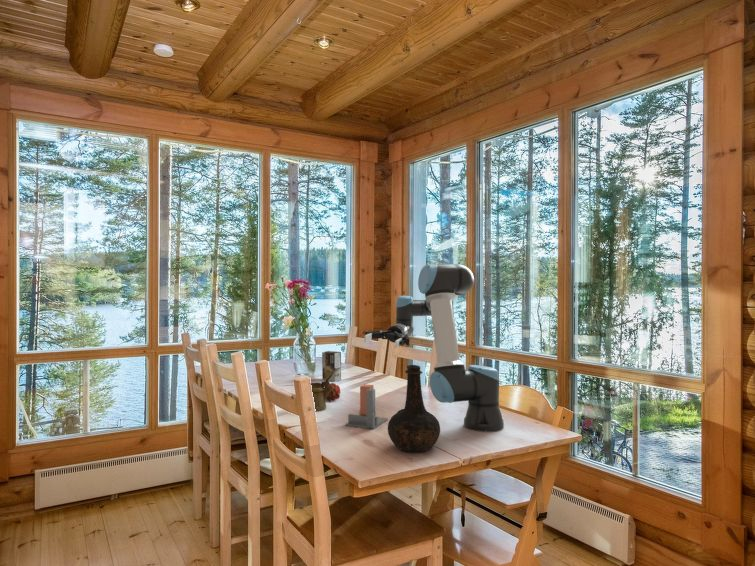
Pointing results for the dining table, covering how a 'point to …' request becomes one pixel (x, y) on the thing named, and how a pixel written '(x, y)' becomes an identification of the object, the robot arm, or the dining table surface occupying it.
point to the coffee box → (331, 365)
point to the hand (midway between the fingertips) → (380, 341)
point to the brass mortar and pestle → (321, 392)
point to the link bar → (364, 398)
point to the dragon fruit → (333, 392)
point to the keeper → (366, 420)
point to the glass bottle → (413, 418)
